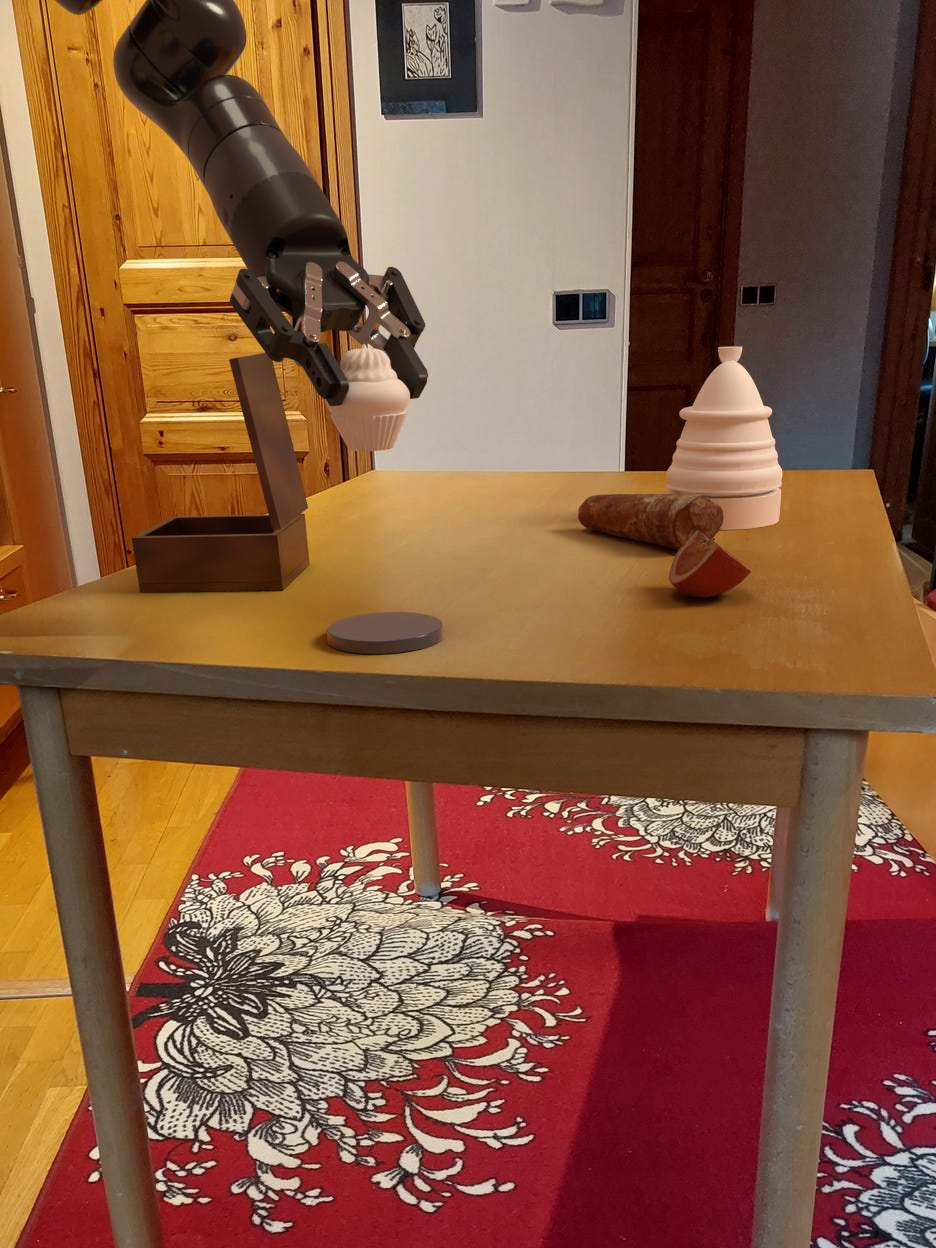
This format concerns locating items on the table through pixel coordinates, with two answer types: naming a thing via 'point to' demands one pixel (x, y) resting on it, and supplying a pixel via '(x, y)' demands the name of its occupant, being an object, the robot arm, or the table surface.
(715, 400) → the honey pot
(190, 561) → the chest
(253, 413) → the lid
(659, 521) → the brown cylinder
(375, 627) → the plate
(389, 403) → the muffin
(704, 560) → the fruit slice
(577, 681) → the table surface
